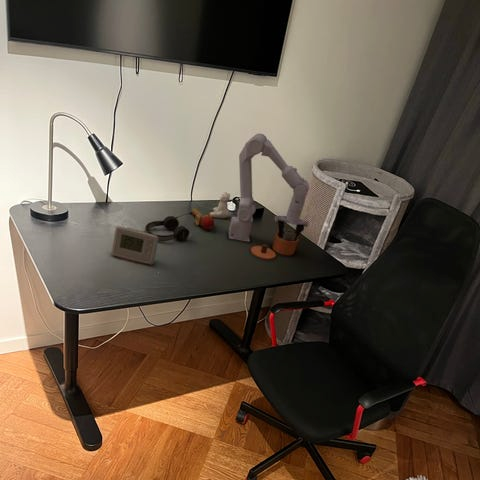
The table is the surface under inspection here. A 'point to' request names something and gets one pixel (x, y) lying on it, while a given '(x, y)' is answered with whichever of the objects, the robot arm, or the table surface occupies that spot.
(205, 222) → the kendama
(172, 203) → the table surface
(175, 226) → the headset
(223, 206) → the seated beast figurine
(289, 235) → the dice cube
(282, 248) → the pot
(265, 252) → the lid
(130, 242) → the digital clock
